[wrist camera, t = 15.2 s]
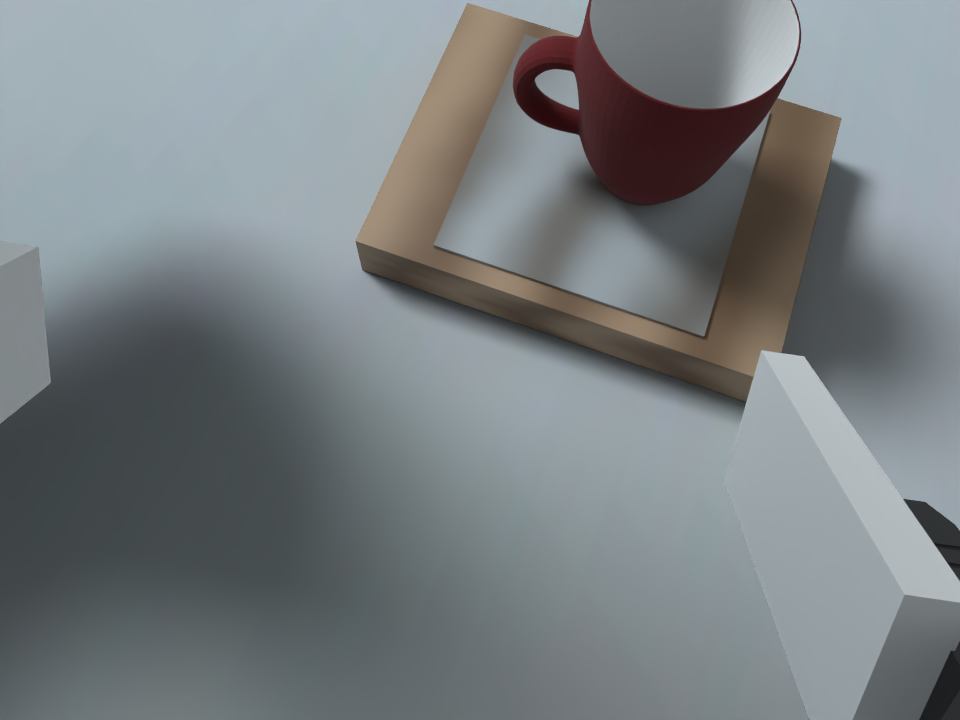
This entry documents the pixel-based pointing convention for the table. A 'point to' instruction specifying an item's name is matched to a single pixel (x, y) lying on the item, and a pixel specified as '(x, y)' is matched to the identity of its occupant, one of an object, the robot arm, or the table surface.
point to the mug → (664, 87)
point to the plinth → (595, 222)
